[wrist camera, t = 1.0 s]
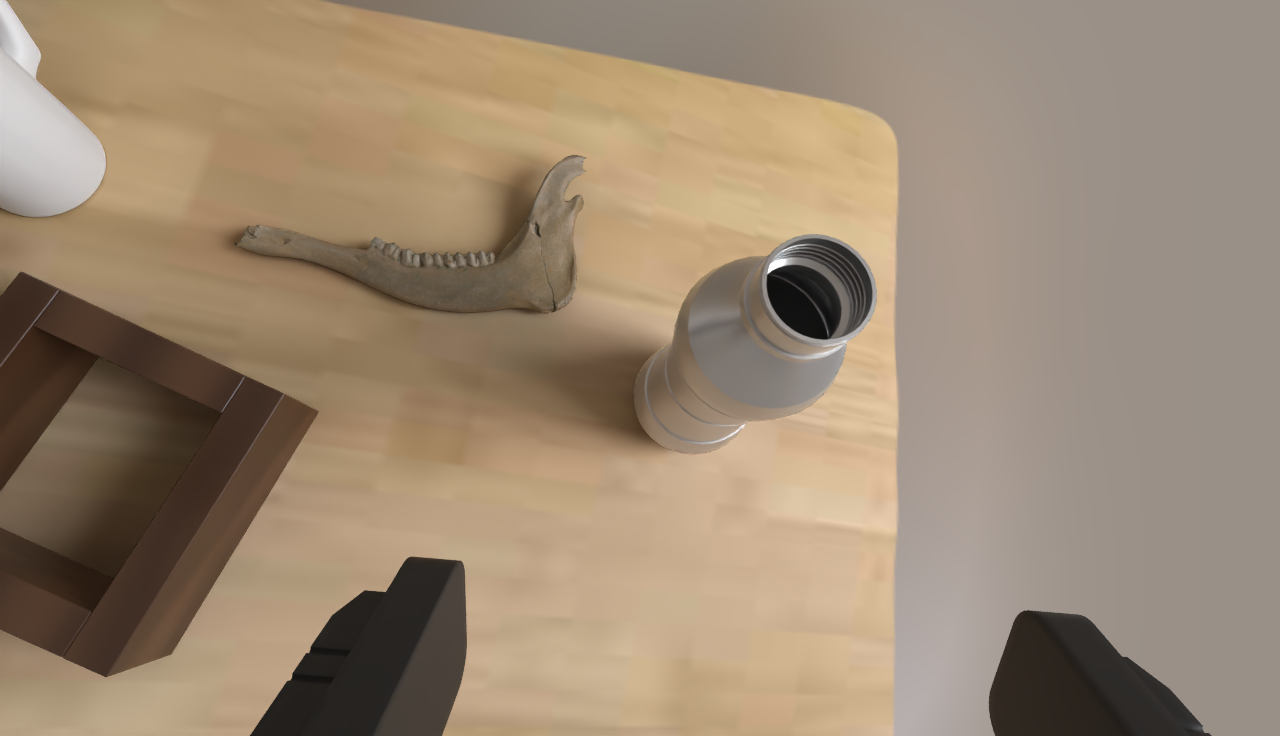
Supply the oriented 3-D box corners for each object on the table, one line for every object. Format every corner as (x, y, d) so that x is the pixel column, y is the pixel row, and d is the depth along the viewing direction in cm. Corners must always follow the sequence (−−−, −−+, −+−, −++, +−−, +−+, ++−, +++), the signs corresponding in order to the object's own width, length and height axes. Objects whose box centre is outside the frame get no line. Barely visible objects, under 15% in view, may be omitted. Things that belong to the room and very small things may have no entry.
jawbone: (621, 298, 40) (626, 289, 38) (275, 387, 36) (260, 383, 34) (581, 164, 41) (583, 149, 39) (238, 237, 37) (221, 224, 35)
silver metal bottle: (748, 447, 39) (951, 371, 20) (638, 468, 38) (739, 411, 18) (724, 344, 40) (891, 179, 21) (617, 361, 39) (690, 203, 20)
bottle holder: (-85, 539, 32) (-198, 542, 27) (91, 305, 35) (20, 270, 30) (171, 654, 32) (106, 678, 27) (319, 411, 36) (284, 394, 31)
